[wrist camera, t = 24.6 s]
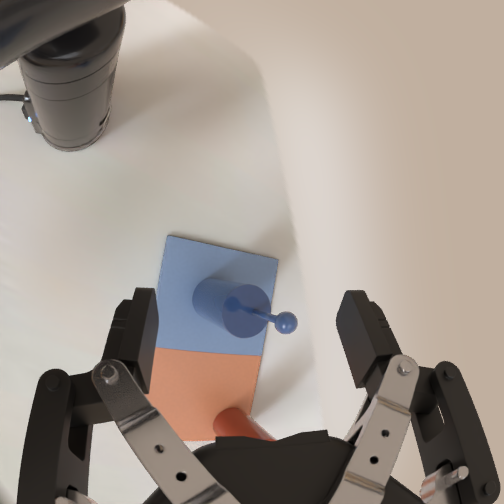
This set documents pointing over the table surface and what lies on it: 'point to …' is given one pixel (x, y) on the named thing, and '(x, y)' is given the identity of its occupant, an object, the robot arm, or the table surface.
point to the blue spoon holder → (238, 308)
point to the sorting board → (203, 339)
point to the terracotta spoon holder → (239, 425)
